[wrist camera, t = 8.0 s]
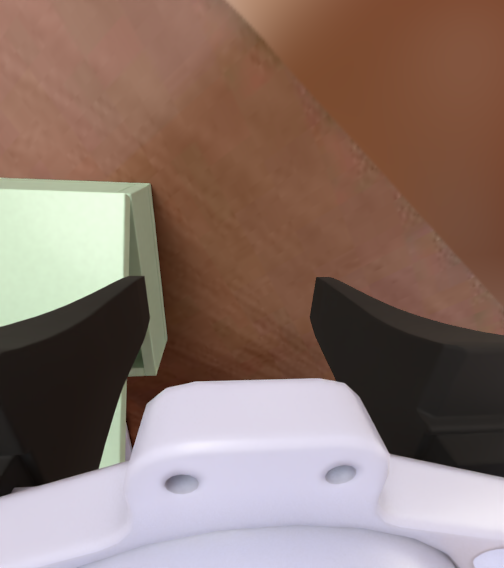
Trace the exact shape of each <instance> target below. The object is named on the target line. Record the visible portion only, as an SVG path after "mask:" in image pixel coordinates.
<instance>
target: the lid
mask: <svg viewBox="0 0 504 568" xmlns="http://www.w3.org/2000/svg"><path fill="white" fill-rule="evenodd" d="M129 240H130V197H129V196H128V195H127V194H126V193H114V192H85V191H56V190H27V189H0V327H2V326H5V325H9V324H12V323H15V322H19V321H22V320H26V319H29V318H32V317H36V316H39V315H41V314H44V313H47V312H50V311H52V310H55V309H58V308H60V307H63V306H65V305H68V304H70V303H72V302H74V301H76V300H79V299H81V298H83V297H85V296H87V295H89V294H92V293H94V292H96V291H98V290H100V289H102V288H103V287H105V286H107V285H109V284H111V283H113V282H115V281H117V280H120V279H122V278H124V277H127V276H129ZM126 392H127V379H126V381H125V384H124V386H123V389H122V391H121V394H120V397H119V400H118V404H117V407H116V410H115V413H114V416H113V419H112V423H111V426H110V430H109V433H108V437H107V440H106V443H105V447H104V451H103V455H102V458H101V462H100V466H99V469H100V468H104V467H107V466H111V465H114V464H118V463H121V462H125V442H126Z"/></svg>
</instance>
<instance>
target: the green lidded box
mask: <svg viewBox="0 0 504 568" xmlns="http://www.w3.org/2000/svg"><path fill="white" fill-rule="evenodd" d="M0 189H27V190H56V191H85V192H114V193H126V194H127V195H128V196H129V197H130V240H129V276H145V284H146V291H147V298H148V306H149V313H150V321H149V325H148V329H147V332H146V336H145V339H144V341H143V344H142V346H141V348H140V350H139V353H138V355H137V357H136V359H135V362H134V364H133V366H132V368H131V370H130V373H129V375H128V376H145V375H146V376H156V375H157V371H158V368H159V365H160V362H161V358H162V355H163V352H164V348H165V345H166V342H167V330H166V321H165V312H164V302H163V293H162V284H161V275H160V265H159V256H158V247H157V238H156V228H155V219H154V210H153V201H152V192H151V184H150V183H125V182H99V181H73V180H46V179H20V178H0Z"/></svg>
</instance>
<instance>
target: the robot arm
mask: <svg viewBox="0 0 504 568" xmlns="http://www.w3.org/2000/svg"><path fill="white" fill-rule="evenodd" d="M310 320H311V323H312V327H313V330H314V334H315V336H316V339H317V341H318V343H319V345H320V347H321V350H322V352H323V354H324V356H325V358H326V360H327V362H328V364H329V366H330V368H331V370H332V373H333V375H334V377H335V379H336V381H331V380H326V379H321V378H307V379H269V380H232V381H196V382H191V383H187V384H182V385H178V386H173V387H169V388H166V389H164V390H163V391H162V392H161V393H159V394H158V395H157V396H156V397H154V398H153V399H152V400H151V401H150V402H148V403H147V404H146V408H145V411H144V414H143V417H142V421H141V424H140V427H139V431H138V434H137V437H136V440H135V444H134V447H133V450H132V446H131V441H130V437H129V432H128V428H127V424H126V442H125V462H121V463H118V464H114V465H111V466H107V467H104V468H100V469H99V466H100V462H101V458H102V455H103V451H104V447H105V443H106V440H107V437H108V433H109V430H110V426H111V423H112V419H113V416H114V413H115V410H116V407H117V404H118V400H119V397H120V394H121V391H122V389H123V386H124V384H125V381H126V379H127V377H128V375H129V373H130V370H131V368H132V366H133V364H134V362H135V359H136V357H137V355H138V353H139V350H140V348H141V346H142V344H143V341H144V339H145V336H146V332H147V329H148V325H149V321H150V313H149V306H148V298H147V291H146V284H145V276H127V277H124V278H122V279H120V280H117V281H115V282H113V283H111V284H109V285H107V286H105V287H103V288H102V289H100V290H98V291H96V292H94V293H92V294H89V295H87V296H85V297H83V298H81V299H79V300H76V301H74V302H72V303H70V304H68V305H65V306H63V307H60V308H58V309H55V310H52V311H50V312H47V313H44V314H41V315H39V316H36V317H32V318H29V319H26V320H22V321H19V322H15V323H12V324H9V325H5V326H2V327H0V568H504V335H498V334H492V333H485V332H480V331H475V330H470V329H466V328H461V327H456V326H452V325H448V324H444V323H440V322H437V321H433V320H430V319H427V318H423V317H420V316H417V315H414V314H411V313H408V312H406V311H403V310H400V309H397V308H395V307H392V306H390V305H388V304H385V303H383V302H381V301H379V300H377V299H374V298H372V297H370V296H368V295H366V294H364V293H362V292H360V291H358V290H356V289H354V288H353V287H351V286H349V285H347V284H345V283H343V282H341V281H339V280H336V279H334V278H331V277H316V283H315V289H314V295H313V301H312V307H311V313H310Z"/></svg>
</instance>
